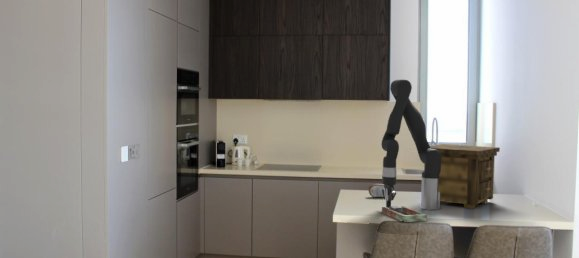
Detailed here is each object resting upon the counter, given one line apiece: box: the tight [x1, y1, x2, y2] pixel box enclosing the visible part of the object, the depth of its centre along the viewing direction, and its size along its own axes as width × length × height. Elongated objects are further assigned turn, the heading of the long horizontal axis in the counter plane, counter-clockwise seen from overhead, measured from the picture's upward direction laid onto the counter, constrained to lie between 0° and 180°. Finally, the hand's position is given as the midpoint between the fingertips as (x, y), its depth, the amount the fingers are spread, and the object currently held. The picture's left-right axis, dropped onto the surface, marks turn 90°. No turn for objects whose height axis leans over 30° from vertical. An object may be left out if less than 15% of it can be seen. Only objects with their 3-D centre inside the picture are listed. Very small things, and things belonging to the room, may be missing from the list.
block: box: [388, 205, 403, 214], centre depth 302 cm, size 5×5×4 cm
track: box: [381, 205, 428, 223], centre depth 293 cm, size 13×24×3 cm, turn 17°
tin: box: [368, 183, 384, 198], centre depth 352 cm, size 15×3×8 cm, turn 92°
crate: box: [423, 143, 500, 209], centre depth 336 cm, size 35×35×33 cm
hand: (388, 207), depth 309 cm, fingers closed
